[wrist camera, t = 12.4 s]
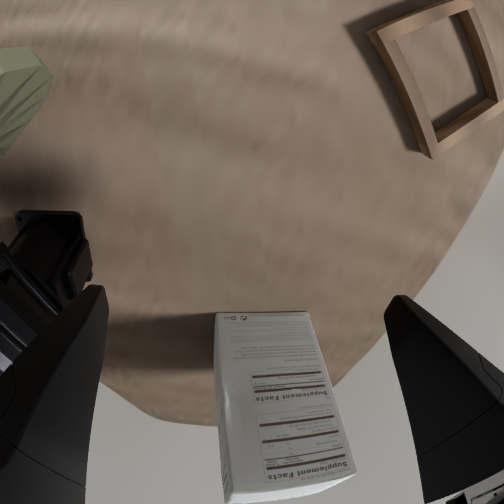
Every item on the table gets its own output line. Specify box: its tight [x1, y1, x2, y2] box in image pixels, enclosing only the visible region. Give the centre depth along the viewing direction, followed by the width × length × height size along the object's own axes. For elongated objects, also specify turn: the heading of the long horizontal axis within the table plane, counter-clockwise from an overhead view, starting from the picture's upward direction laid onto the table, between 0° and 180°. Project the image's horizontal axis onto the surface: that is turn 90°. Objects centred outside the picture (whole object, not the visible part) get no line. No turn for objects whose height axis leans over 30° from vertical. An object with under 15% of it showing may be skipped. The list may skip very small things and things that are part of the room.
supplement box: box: [214, 312, 357, 504], centre depth 24 cm, size 10×9×17 cm
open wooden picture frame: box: [366, 0, 504, 160], centre depth 15 cm, size 10×10×2 cm
